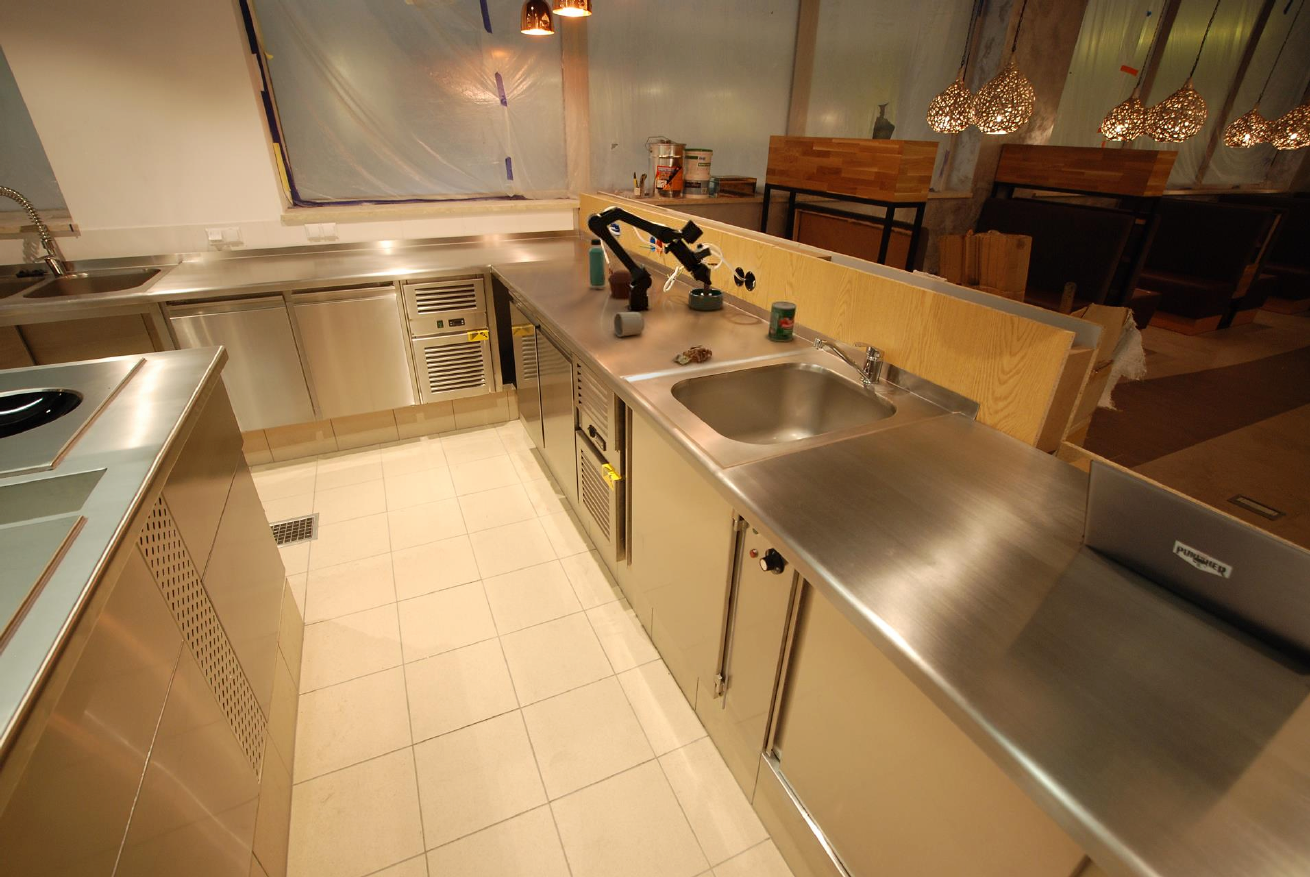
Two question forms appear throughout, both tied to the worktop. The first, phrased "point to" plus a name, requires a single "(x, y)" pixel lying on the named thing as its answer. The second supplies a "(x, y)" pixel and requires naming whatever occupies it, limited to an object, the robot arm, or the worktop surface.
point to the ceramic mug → (628, 323)
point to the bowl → (705, 299)
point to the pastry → (694, 354)
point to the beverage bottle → (596, 264)
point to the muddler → (707, 286)
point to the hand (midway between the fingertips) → (710, 283)
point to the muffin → (620, 284)
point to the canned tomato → (782, 321)
